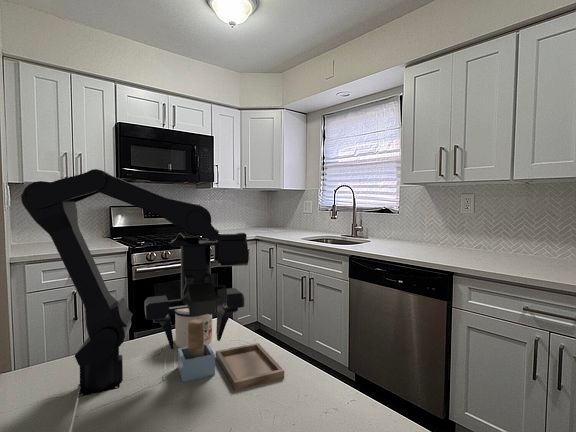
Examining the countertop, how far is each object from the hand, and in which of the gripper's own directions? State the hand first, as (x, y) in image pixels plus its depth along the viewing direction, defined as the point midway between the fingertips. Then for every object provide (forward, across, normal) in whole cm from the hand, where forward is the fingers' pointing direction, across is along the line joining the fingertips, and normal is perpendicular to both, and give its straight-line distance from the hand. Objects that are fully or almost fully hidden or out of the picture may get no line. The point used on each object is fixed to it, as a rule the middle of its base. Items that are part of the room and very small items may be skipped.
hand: (195, 344), depth 66 cm
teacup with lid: (+6, +3, +16) cm, 17 cm away
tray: (+6, +10, -3) cm, 12 cm away
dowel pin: (+5, 0, 0) cm, 5 cm away
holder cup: (+6, 0, 0) cm, 6 cm away
